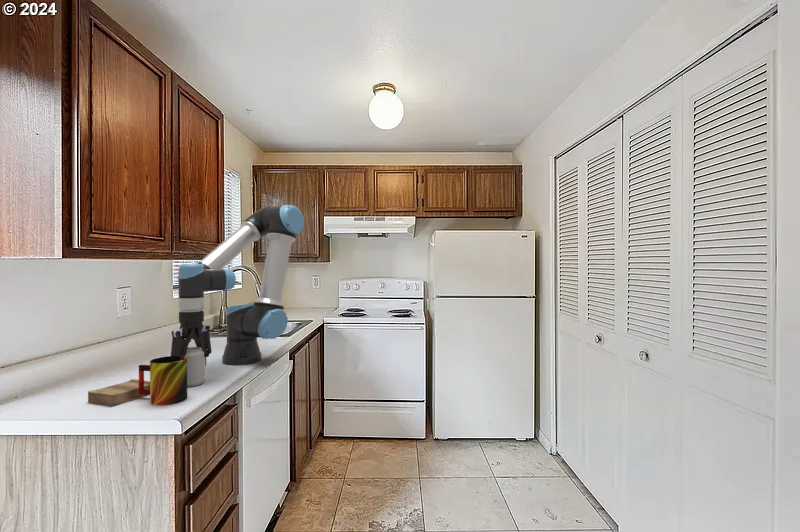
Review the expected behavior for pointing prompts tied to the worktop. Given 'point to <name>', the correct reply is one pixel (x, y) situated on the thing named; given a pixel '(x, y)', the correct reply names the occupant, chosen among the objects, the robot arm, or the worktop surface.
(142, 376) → the mug
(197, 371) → the can
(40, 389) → the worktop surface
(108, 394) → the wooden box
